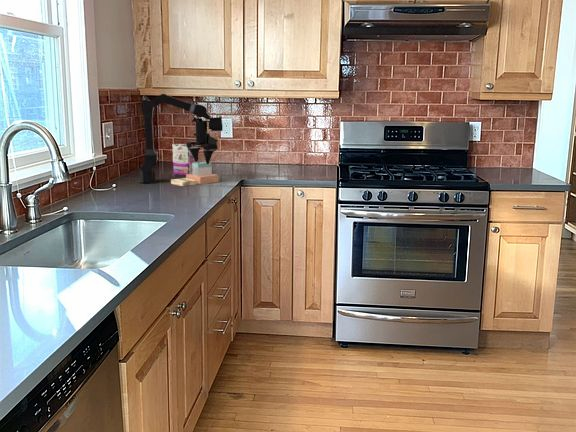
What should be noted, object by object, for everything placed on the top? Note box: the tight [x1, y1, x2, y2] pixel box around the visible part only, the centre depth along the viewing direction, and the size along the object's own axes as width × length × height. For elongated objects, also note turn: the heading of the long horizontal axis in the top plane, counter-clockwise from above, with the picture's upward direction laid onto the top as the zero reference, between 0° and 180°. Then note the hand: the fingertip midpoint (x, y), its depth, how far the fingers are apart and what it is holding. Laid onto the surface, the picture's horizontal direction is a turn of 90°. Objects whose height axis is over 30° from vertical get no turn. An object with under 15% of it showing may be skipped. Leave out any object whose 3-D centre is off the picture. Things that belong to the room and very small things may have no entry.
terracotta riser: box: [185, 173, 219, 185], centre depth 282 cm, size 11×12×4 cm
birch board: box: [170, 177, 198, 187], centre depth 275 cm, size 8×10×2 cm
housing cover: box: [192, 160, 213, 168], centre depth 281 cm, size 5×8×3 cm, turn 133°
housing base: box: [192, 167, 213, 176], centre depth 282 cm, size 5×8×4 cm, turn 134°
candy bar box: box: [171, 143, 195, 177], centre depth 303 cm, size 11×5×16 cm, turn 61°
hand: (202, 163), depth 281 cm, fingers open, 9 cm apart
